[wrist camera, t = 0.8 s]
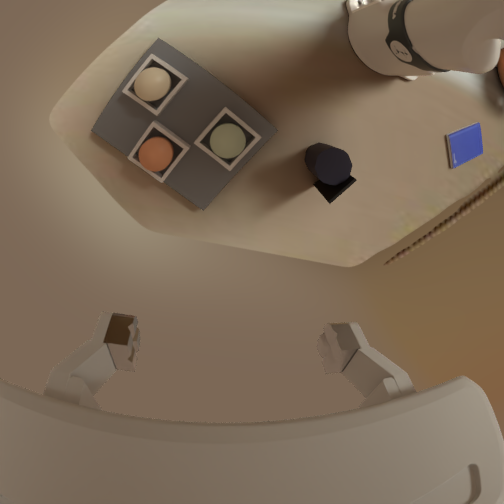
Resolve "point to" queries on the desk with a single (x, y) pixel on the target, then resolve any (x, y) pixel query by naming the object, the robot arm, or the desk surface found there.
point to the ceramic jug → (501, 66)
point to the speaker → (329, 169)
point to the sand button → (152, 84)
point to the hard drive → (464, 144)
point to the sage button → (227, 140)
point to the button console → (182, 124)
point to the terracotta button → (156, 153)
